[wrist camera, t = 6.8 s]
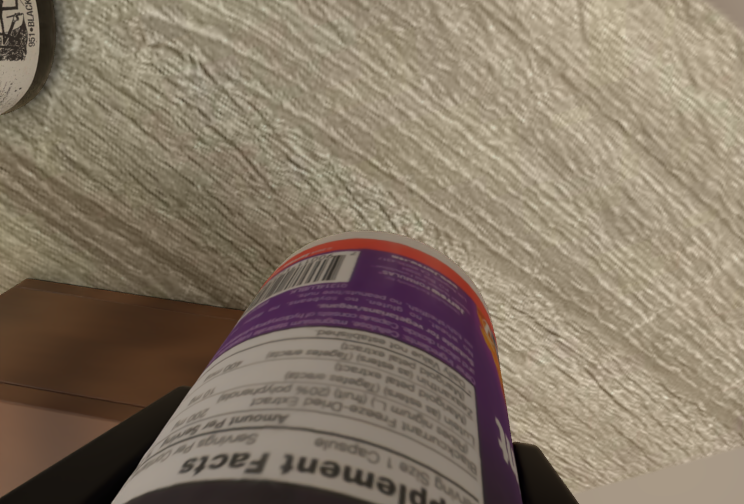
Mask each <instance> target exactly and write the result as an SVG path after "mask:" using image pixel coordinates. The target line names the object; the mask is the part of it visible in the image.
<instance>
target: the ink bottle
mask: <svg viewBox="0 0 744 504" xmlns="http://www.w3.org/2000/svg"><path fill="white" fill-rule="evenodd" d="M55 42H56V25H55V13H54V6H53V0H0V115H3V114H6V113H9V112H12V111H14V110H17V109H19V108H21V107H22V106H24V105H26V104H27V103H28V102H30V101H31V100H32V99H33V98H34V97H35V96H36V95H37V94H38V93H39V92H40V90H41V89H42V87H43V86H44V84H45V82H46V80H47V78H48V76H49V73H50V70H51V67H52V63H53V59H54V52H55Z"/></svg>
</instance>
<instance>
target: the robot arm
mask: <svg viewBox="0 0 744 504" xmlns="http://www.w3.org/2000/svg"><path fill="white" fill-rule="evenodd" d="M191 388H192V387H191V386H179V387H177V388H175V389H174V390H172V391H171V392H169V393H167V394H166V395H164V396H163V397H161V398H159V399H158V400H156V401H155V402H153V403H151V404H150V405H148V406H147V407H145V408H143V409H142V410H140V411H139V412H137V413H135V414H134V415H132V416H130V417H129V418H127V419H126V420H124V421H122V422H121V423H119V424H118V425H116V426H114V427H113V428H111V429H110V430H108V431H106V432H105V433H103V434H102V435H100V436H98V437H97V438H95V439H94V440H92V441H90V442H89V443H87V444H86V445H84V446H82V447H81V448H79V449H78V450H76V451H74V452H73V453H71V454H69V455H68V456H66V457H65V458H63V459H61V460H60V461H58V462H57V463H55V464H53V465H52V466H50V467H49V468H47V469H45V470H44V471H42V472H41V473H39V474H37V475H36V476H34V477H33V478H31V479H29V480H28V481H26V482H25V483H23V484H21V485H20V486H18V487H16V488H15V489H13V490H12V491H10V492H8V493H7V494H5V495H4V496H2V497H0V504H111V503H112V501H113V500H114V498H115V497H116V496H117V494H118V493H119V491H120V490H121V488H122V487H123V486H124V484H125V483H126V481H127V480H128V479H129V477H130V476H131V475H132V473H133V472H134V471H135V469H136V468H137V466H138V465H139V463H140V461H141V460H142V458H143V456H144V455H145V453H146V452H147V451H148V450H149V449H150V447H151V446H152V445H153V443H154V442H155V440H156V439H157V437H158V436H159V434H160V433H161V431H162V430H163V428H164V427H165V425H166V424H167V422H168V421H169V420H170V418H171V417H172V415H173V414H174V412H175V411H176V410H177V408H178V407H179V405H180V404H181V402H182V401H183V399H184V398H185V397H186V395H187V394H188V392H189V391H190V389H191ZM512 445H513V451H514V457H515V462H516V468H517V473H518V480H519V487H520V492H521V498H522V503H523V504H579V503H578V502H577V500H576V499H575V497H574V496H573V495H572V493H571V492H570V490H569V489H568V488H567V486H566V485H565V484H564V482H563V481H562V479H561V478H560V477H559V475H558V474H557V472H556V471H555V470H554V468H553V467H552V465H551V464H550V463H549V461H548V460H547V458H546V457H545V456H544V454H543V453H542V451H541V450H540V449H539V448H538V447H537V446H535V445H532V444H526V443H521V442H513V443H512Z"/></svg>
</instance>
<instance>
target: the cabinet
mask: <svg viewBox="0 0 744 504" xmlns="http://www.w3.org/2000/svg"><path fill="white" fill-rule="evenodd" d="M244 312H245V311H240V310H234V309H227V308H220V307H214V306H207V305H200V304H194V303H187V302H181V301H174V300H167V299H161V298H154V297H147V296H141V295H134V294H128V293H121V292H114V291H108V290H101V289H94V288H88V287H81V286H75V285H68V284H61V283H55V282H48V281H41V280H35V279H25V280H24V281H22V282H21V283H19V284H17V285H16V286H15V287H13V288H11V289H9V290H8V291H6V292H5V293H3V294H1V295H0V497H2V496H4V495H5V494H7V493H8V492H10V491H12V490H13V489H15V488H16V487H18V486H20V485H21V484H23V483H25V482H26V481H28V480H29V479H31V478H33V477H34V476H36V475H37V474H39V473H41V472H42V471H44V470H45V469H47V468H49V467H50V466H52V465H53V464H55V463H57V462H58V461H60V460H61V459H63V458H65V457H66V456H68V455H69V454H71V453H73V452H74V451H76V450H78V449H79V448H81V447H82V446H84V445H86V444H87V443H89V442H90V441H92V440H94V439H95V438H97V437H98V436H100V435H102V434H103V433H105V432H106V431H108V430H110V429H111V428H113V427H114V426H116V425H118V424H119V423H121V422H122V421H124V420H126V419H127V418H129V417H130V416H132V415H134V414H135V413H137V412H139V411H140V410H142V409H143V408H145V407H147V406H148V405H150V404H151V403H153V402H155V401H156V400H158V399H159V398H161V397H163V396H164V395H166V394H167V393H169V392H171V391H172V390H174V389H175V388H177V387H179V386H191V387H193V385H194V384H195V383H196V382H197V380H198V379H199V377H200V376H201V374H202V373H203V371H204V370H205V368H206V367H207V365H208V364H209V363H210V361H211V360H212V358H213V357H214V355H215V354H216V352H217V351H218V350H219V348H220V347H221V345H222V344H223V342H224V341H225V340H226V338H227V337H228V335H229V334H230V333H231V331H232V330H233V328H234V327H235V325H236V324H237V322H238V321H239V320H240V318H241V317H242V315H243V314H244Z"/></svg>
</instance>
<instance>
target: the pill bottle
mask: <svg viewBox="0 0 744 504" xmlns="http://www.w3.org/2000/svg"><path fill="white" fill-rule="evenodd" d="M111 504H523V503H522V498H521V492H520V487H519V480H518V473H517V468H516V462H515V457H514V451H513V445H512V439H511V432H510V426H509V419H508V413H507V406H506V400H505V394H504V388H503V382H502V377H501V370H500V363H499V356H498V349H497V342H496V337H495V334H494V329H493V324H492V321H491V317H490V313H489V311H488V308H487V306H486V303H485V301H484V299H483V297H482V295H481V293H480V292H479V290H478V289H477V287H476V285H475V284H474V283H473V281H472V280H471V279H470V277H469V276H468V275H467V274H466V273H465V272H464V270H463V269H461V268H460V267H459V266H458V265H457V264H456V263H455V262H454V261H452V260H451V259H450V258H449V257H447V256H446V255H444V254H443V253H441V252H440V251H438V250H436V249H434V248H433V247H431V246H429V245H427V244H425V243H423V242H420V241H418V240H415V239H413V238H410V237H407V236H403V235H398V234H394V233H390V232H382V231H368V230H361V231H348V232H343V233H338V234H333V235H329V236H326V237H323V238H320V239H318V240H315V241H313V242H310V243H309V244H307V245H305V246H303V247H302V248H300V249H298V250H297V251H295V252H294V253H293V254H291V255H290V256H289V257H288V258H287V259H286V260H285V261H284V262H282V263H281V264H280V266H279V267H278V268H277V269H276V270H275V271H274V273H273V274H272V275H271V276H270V277H269V279H268V280H267V281H266V282H265V284H264V285H263V286H262V287H261V289H260V290H259V292H258V293H257V295H256V297H255V298H254V299H253V301H252V302H251V304H250V305H249V307H248V308H247V309H246V311H245V312H244V314H243V315H242V317H241V318H240V320H239V321H238V322H237V324H236V325H235V327H234V328H233V330H232V331H231V333H230V334H229V335H228V337H227V338H226V340H225V341H224V342H223V344H222V345H221V347H220V348H219V350H218V351H217V352H216V354H215V355H214V357H213V358H212V360H211V361H210V363H209V364H208V365H207V367H206V368H205V370H204V371H203V373H202V374H201V376H200V377H199V379H198V380H197V382H196V383H195V384H194V385H193V387H192V388H191V389H190V391H189V392H188V394H187V395H186V397H185V398H184V399H183V401H182V402H181V404H180V405H179V407H178V408H177V410H176V411H175V412H174V414H173V415H172V417H171V418H170V420H169V421H168V422H167V424H166V425H165V427H164V428H163V430H162V431H161V433H160V434H159V436H158V437H157V439H156V440H155V442H154V443H153V445H152V446H151V447H150V449H149V450H148V451H147V452H146V453H145V455H144V456H143V458H142V460H141V461H140V463H139V465H138V466H137V468H136V469H135V471H134V472H133V473H132V475H131V476H130V477H129V479H128V480H127V481H126V483H125V484H124V486H123V487H122V488H121V490H120V491H119V493H118V494H117V496H116V497H115V498H114V500H113V501H112V503H111Z"/></svg>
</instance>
